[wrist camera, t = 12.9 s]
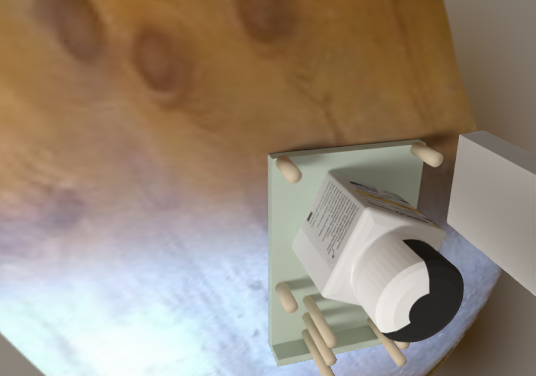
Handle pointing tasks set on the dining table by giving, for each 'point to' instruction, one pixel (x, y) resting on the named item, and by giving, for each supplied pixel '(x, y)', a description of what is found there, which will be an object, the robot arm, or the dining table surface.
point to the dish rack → (292, 270)
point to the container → (379, 258)
